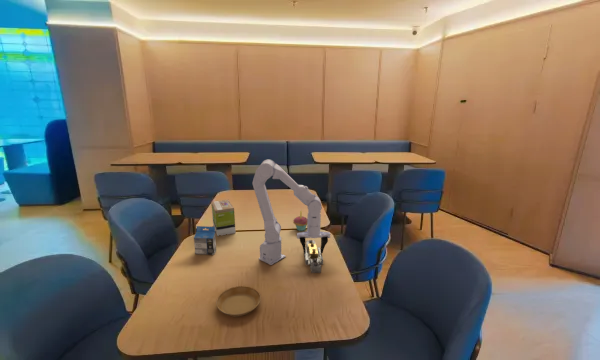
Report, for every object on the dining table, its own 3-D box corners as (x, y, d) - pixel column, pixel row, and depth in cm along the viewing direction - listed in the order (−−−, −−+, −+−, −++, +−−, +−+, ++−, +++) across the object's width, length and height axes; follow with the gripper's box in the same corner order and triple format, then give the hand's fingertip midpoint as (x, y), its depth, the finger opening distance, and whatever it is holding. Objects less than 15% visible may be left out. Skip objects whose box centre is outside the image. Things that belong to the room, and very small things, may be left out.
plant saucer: (242, 286, 106) (242, 280, 105) (269, 303, 97) (269, 297, 96) (207, 307, 95) (207, 300, 94) (235, 328, 86) (234, 321, 85)
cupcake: (308, 232, 152) (308, 211, 149) (292, 232, 152) (293, 211, 149) (308, 226, 160) (308, 206, 157) (293, 225, 161) (293, 205, 158)
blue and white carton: (194, 254, 128) (192, 229, 125) (198, 250, 132) (195, 226, 129) (214, 255, 128) (212, 230, 125) (216, 250, 132) (215, 226, 128)
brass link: (318, 261, 122) (318, 251, 121) (310, 261, 122) (310, 251, 121) (315, 251, 131) (315, 241, 130) (308, 251, 131) (308, 241, 129)
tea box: (212, 225, 159) (210, 201, 156) (230, 223, 163) (229, 198, 160) (216, 236, 146) (215, 209, 142) (236, 233, 150) (234, 207, 147)
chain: (325, 272, 115) (325, 264, 114) (307, 273, 115) (307, 265, 114) (317, 245, 137) (318, 239, 136) (302, 246, 137) (302, 239, 136)
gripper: (328, 220, 126) (327, 247, 130) (296, 220, 125) (296, 248, 129) (331, 226, 119) (330, 255, 123) (297, 227, 118) (297, 256, 122)
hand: (313, 252), depth 125 cm, fingers open, 7 cm apart
